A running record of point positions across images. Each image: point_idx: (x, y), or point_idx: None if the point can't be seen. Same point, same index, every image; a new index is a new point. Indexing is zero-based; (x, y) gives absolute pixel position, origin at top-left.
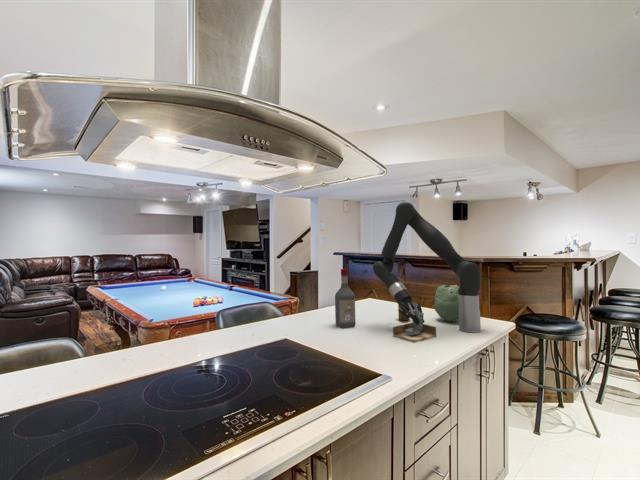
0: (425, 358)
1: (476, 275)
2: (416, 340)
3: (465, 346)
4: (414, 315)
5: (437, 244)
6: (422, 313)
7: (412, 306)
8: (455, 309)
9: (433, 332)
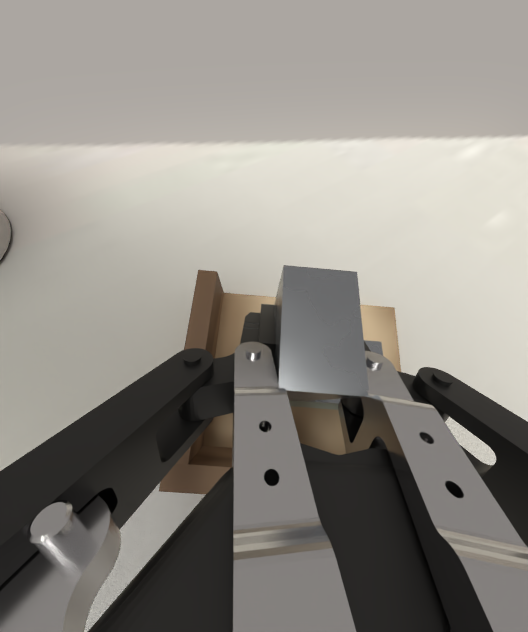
0: (481, 184)
1: None
2: (372, 307)
3: (254, 157)
4: (369, 351)
5: None
6: (306, 267)
7: (319, 518)
8: None
9: (221, 293)
